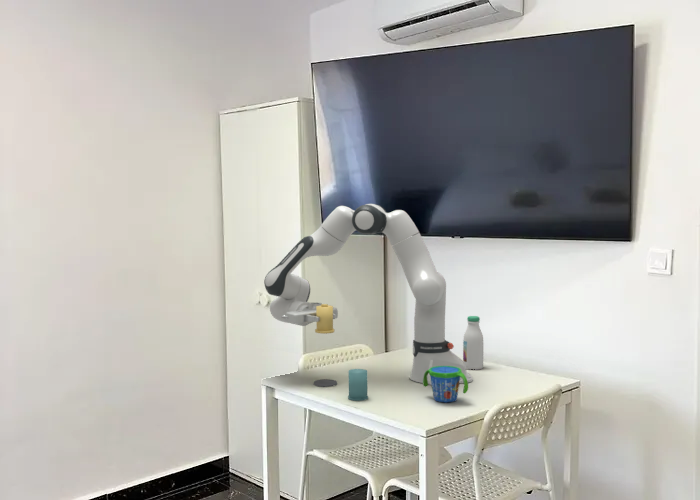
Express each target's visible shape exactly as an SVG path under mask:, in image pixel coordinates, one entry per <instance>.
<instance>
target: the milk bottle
mask: <svg viewBox="0 0 700 500" xmlns="http://www.w3.org/2000/svg"><path fill="white" fill-rule="evenodd" d="M480 319H481V318H480V317H479V316H478V315H469V316H467V319H466V320H467V327H466V329H465V332H464V334H463V339H462V341H463V342H462V343H463V345H462V346H463V347H462V351H463V352H462V355H463V356H462V361H463V362H464V364H465V367H466V370H471V369H473V370H472V371H477V370H482V369H483V368H484V335H483V333H482V331H481V327H480V321H481V320H480ZM474 369H475V370H474Z"/></svg>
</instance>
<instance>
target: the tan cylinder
mask: <svg viewBox="0 0 700 500" xmlns="http://www.w3.org/2000/svg"><path fill="white" fill-rule="evenodd" d="M333 307H334V306H333V305H329V304H328V303H322V304H321V305H320V306H316V316H319V317H320V321H319V322H316V328H315V329H314V332H315V333H316V334H325V335H326V334H333V333H335V329H334V319H333Z"/></svg>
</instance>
